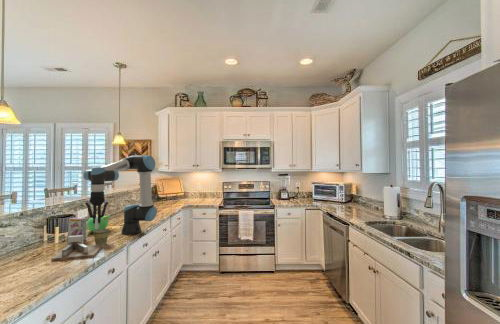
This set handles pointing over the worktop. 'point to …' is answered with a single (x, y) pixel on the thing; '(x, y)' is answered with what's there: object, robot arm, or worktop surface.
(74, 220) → the candy bar box
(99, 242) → the tan flower pot
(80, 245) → the tong jaw
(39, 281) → the worktop surface
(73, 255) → the board
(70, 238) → the lock collar
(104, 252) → the worktop surface
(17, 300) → the worktop surface
